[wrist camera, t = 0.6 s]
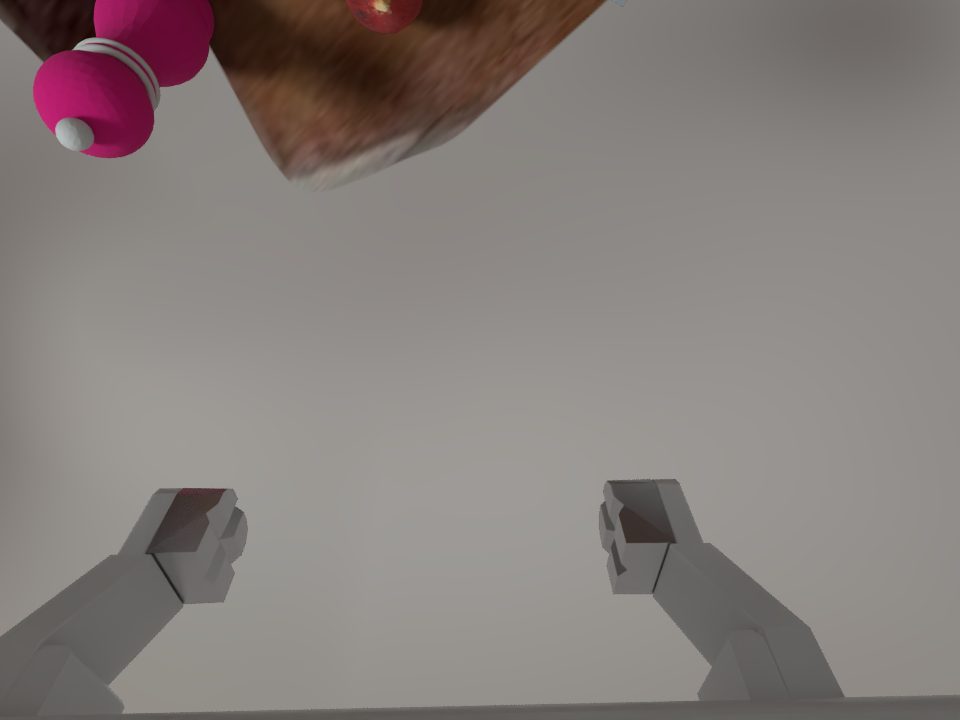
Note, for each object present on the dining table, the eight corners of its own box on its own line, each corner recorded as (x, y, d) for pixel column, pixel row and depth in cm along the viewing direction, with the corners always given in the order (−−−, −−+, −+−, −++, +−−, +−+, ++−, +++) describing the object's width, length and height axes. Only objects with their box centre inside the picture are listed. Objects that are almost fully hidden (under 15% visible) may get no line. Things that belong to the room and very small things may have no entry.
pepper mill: (96, -32, 41) (-49, 95, 28) (184, -60, 40) (74, 60, 27) (161, 66, 46) (64, 209, 34) (239, 44, 45) (169, 182, 33)
